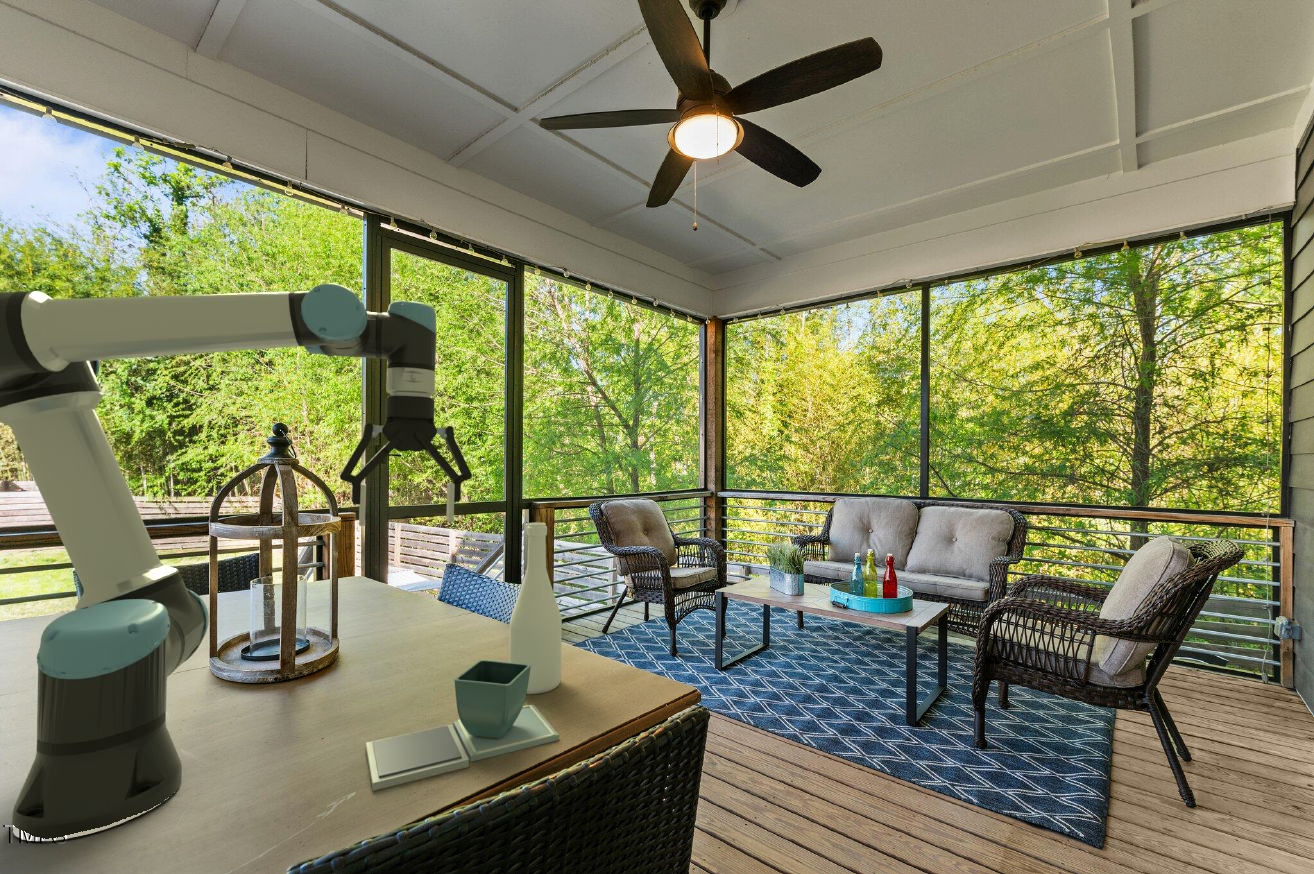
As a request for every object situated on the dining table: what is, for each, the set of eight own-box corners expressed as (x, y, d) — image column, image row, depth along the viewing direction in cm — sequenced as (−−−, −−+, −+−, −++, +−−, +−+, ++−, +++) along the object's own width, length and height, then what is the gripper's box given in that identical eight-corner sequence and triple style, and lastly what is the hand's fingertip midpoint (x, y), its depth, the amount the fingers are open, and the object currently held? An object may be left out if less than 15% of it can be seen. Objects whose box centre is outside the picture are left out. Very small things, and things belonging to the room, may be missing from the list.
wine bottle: (516, 675, 115) (518, 520, 116) (565, 676, 115) (567, 520, 116) (502, 695, 106) (504, 526, 106) (555, 696, 106) (557, 527, 106)
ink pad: (372, 790, 76) (372, 780, 76) (365, 749, 87) (366, 740, 87) (468, 766, 82) (468, 757, 82) (451, 730, 92) (451, 722, 92)
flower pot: (507, 747, 86) (509, 684, 86) (450, 741, 87) (452, 679, 87) (530, 721, 94) (532, 663, 95) (478, 715, 96) (480, 659, 96)
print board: (470, 761, 83) (470, 754, 83) (453, 726, 94) (453, 720, 94) (558, 740, 90) (558, 733, 90) (533, 709, 100) (533, 703, 100)
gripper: (325, 389, 90) (321, 529, 90) (491, 398, 102) (488, 522, 102) (325, 393, 97) (321, 523, 96) (481, 401, 109) (478, 517, 109)
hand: (407, 523), depth 99 cm, fingers open, 13 cm apart
